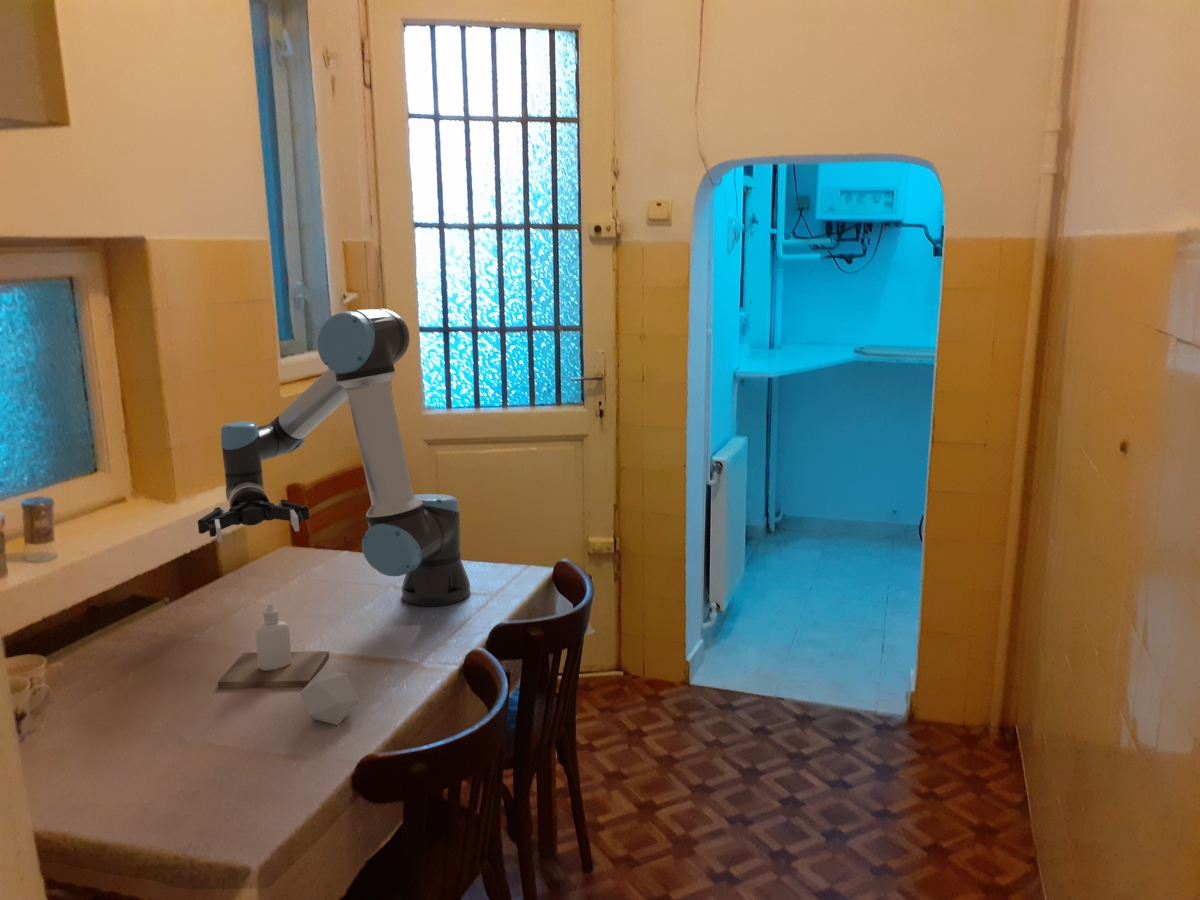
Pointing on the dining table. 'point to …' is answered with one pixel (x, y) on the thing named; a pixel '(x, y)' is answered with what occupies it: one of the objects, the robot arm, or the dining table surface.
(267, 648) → the eye dropper bottle
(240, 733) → the dining table surface
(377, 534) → the robot arm
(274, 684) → the walnut board
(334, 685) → the die
